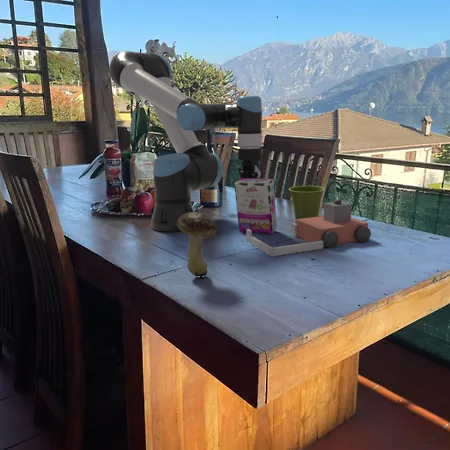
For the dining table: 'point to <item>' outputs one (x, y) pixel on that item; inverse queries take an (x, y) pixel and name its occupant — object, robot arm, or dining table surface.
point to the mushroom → (196, 239)
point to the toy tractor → (321, 231)
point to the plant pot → (306, 200)
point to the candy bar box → (256, 205)
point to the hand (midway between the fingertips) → (251, 221)
